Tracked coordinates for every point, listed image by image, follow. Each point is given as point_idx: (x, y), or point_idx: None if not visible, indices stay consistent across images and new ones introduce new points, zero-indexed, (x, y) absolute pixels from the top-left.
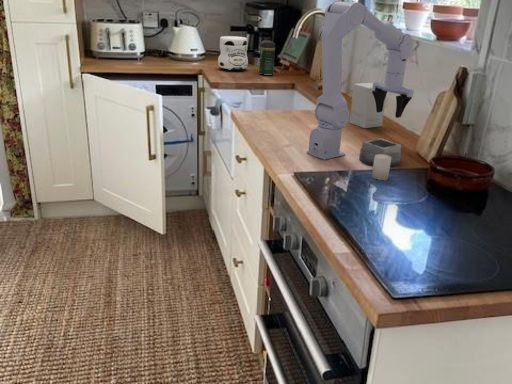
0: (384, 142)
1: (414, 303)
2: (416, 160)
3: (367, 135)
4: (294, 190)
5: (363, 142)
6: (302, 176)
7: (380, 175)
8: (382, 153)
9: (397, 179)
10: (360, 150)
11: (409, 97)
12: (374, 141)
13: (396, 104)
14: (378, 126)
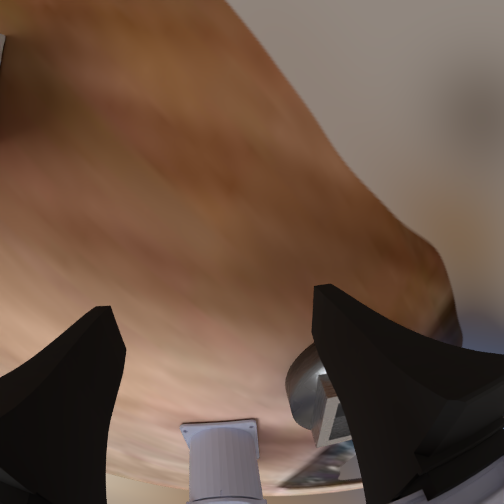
0: None
1: None
2: (420, 268)
3: (74, 205)
4: (326, 490)
5: (319, 446)
6: (298, 483)
7: None
8: None
9: None
10: (307, 427)
11: (497, 419)
12: (332, 420)
13: (352, 438)
14: (1, 55)
